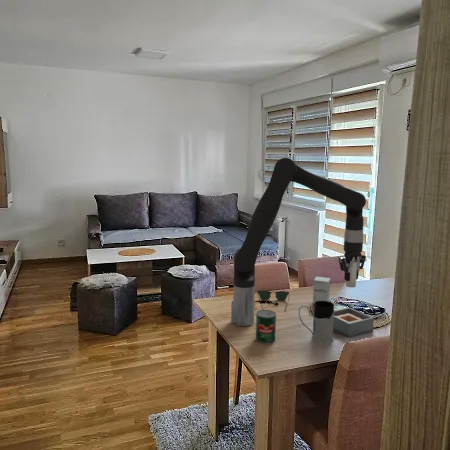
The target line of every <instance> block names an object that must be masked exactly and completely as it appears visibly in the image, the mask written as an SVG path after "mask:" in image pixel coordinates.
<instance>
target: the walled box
mask: <svg viewBox="0 0 450 450" xmlns="http://www.w3.org/2000/svg"><path fill="white" fill-rule="evenodd" d="M374 319H375V317H374V316H370V315H368V314H366V313H364V312H361V311H359V310H356V309H354V308H352V307H345V308H340V309H336V310H335V309H334V322H333V332H334V331H335V332H336V333H338V334H340V335H342V336H344V337H346V338H348V339H349V338H353V337H357V336H360V335H361V336H362V335H364V334H368V333H372V332H374Z"/></svg>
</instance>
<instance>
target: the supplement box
mask: <svg viewBox="0 0 450 450" xmlns="http://www.w3.org/2000/svg"><path fill="white" fill-rule="evenodd" d="M330 288H331V277H325V276H324V277H323V276H315V278H314V279H313V289H312V290H313V293H312V304H313V305H315V302H316V301H328V302H330V301H329V300H330V290H331V289H330Z"/></svg>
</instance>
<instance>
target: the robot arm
mask: <svg viewBox="0 0 450 450" xmlns="http://www.w3.org/2000/svg"><path fill="white" fill-rule="evenodd" d="M272 171H273V172H272V173H271V174H272V175H271V176H270V180H269V182H268V185H267V187H266V188H265V191H264V193H263V194H262V196H261V198H260V199H259V201H258V203H257V206H256V207H255V210H254V212H253V214H252V216H251V220H250V221H249V225H248V227H247V228H248V229H247V233H246V236H245V239H244V241H243V243H242V244H241V247H240V248H239V249H237V250H236V251H235V253H234V255H233V298H232V299H233V300H232V301H231V308H230V309H231V312H230V314H231V315H230V318H231V319H230V321H231V323H233V324H234V325H236V326H237V327H249V326H253V324H254V323H255V293H256V292H255V290H256V289H255V286H256V285H255V284H256V283H255V282H256V278H255V277H256V275H255V274H256V263H257V259H258V255H259V252H260V250H261V248H262V245H263V243H264V241H265V240H266V238H267V236H268V234H269V232H270V230H271V228H272V226H273V224H274V222H275V220H276V218H277V215H278V214H279V210H280V207H281V205H282V201H283V197H284V195H285V192H286V190H287V188H288V187H289V185H290V184H291V182H292V183H296V184H298V185H301V186H304V187H306V188H308V189H310V190H311V191H314V192H316V193H318V194H319V195H321V196H324V197H326V198H328V199H330V200H332V201H336V202H338V203H340V204H342V205H344V206H345V214H346V215H345V216H346V218H345V226H344V227H345V228H344V237H343V238H344V239H343V251H344V255H343V256H342V257H338V263H339V268H340V271H341V272H344V275H343V276H344V281H345V282H346V281H350V270H351V268H352V266H353V262H354V260H355V259H357V274H356V281H357V280H358V279H359V273H360V270H363V268H364V266H365V262H366V259H367V256H366V255H365V254H362V253H363V247H364V215H363V212H364V207H365V206H366V204H367V199H366V197H365V195H364V194H363V193H361V192H360V191H356V190H354V189H351V188H349V187H345V186H344V185H343V184H341V183H339V182H336V181H334V180H332V179H330V178H327V177H325V176H321V175H319V174H316V173H313V172H310V171H308V170H307V169H304V168H302V167H301V166H299V165H298V164H296V162H295V161H294V160H293V159H292V158H289V157H281V158H280V159H278V160H277V161H276V163H274V167H273V170H272ZM347 263H348V264H350V265H348V264H347ZM347 266H348V269H347Z"/></svg>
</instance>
